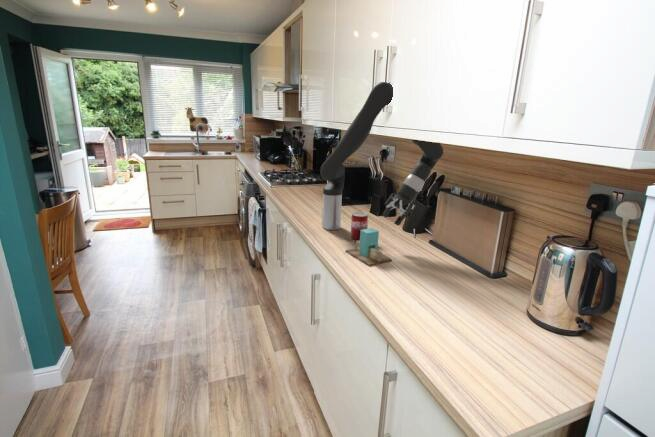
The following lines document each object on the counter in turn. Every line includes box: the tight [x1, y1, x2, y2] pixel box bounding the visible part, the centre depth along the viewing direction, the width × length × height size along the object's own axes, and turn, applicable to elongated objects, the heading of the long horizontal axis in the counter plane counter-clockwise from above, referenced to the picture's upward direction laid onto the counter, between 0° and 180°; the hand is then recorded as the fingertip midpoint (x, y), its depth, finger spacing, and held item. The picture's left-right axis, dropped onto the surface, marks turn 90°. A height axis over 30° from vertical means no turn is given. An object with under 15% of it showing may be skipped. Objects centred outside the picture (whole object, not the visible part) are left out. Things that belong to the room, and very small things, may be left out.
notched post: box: [359, 227, 380, 257], centre depth 137 cm, size 4×6×10 cm
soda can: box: [350, 211, 369, 242], centre depth 156 cm, size 7×7×12 cm
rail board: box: [345, 241, 392, 267], centre depth 138 cm, size 16×11×4 cm
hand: (390, 220), depth 144 cm, fingers open, 8 cm apart
